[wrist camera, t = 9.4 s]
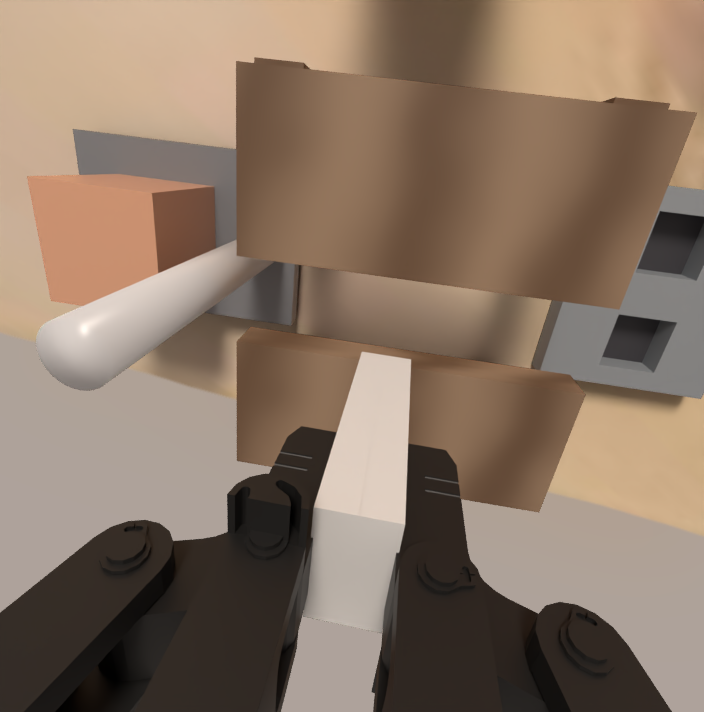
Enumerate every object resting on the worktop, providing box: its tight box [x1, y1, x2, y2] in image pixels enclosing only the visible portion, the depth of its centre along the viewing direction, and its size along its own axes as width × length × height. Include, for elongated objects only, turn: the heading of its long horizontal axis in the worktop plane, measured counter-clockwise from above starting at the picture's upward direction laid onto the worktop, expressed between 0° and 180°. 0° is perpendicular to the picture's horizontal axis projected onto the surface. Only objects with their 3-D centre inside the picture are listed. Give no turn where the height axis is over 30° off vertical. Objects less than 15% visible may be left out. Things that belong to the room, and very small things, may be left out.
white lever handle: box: [27, 129, 299, 391], centre depth 23 cm, size 16×12×21 cm
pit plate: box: [532, 186, 704, 399], centre depth 30 cm, size 12×14×2 cm
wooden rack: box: [236, 58, 697, 512], centre depth 26 cm, size 36×19×15 cm, turn 84°
